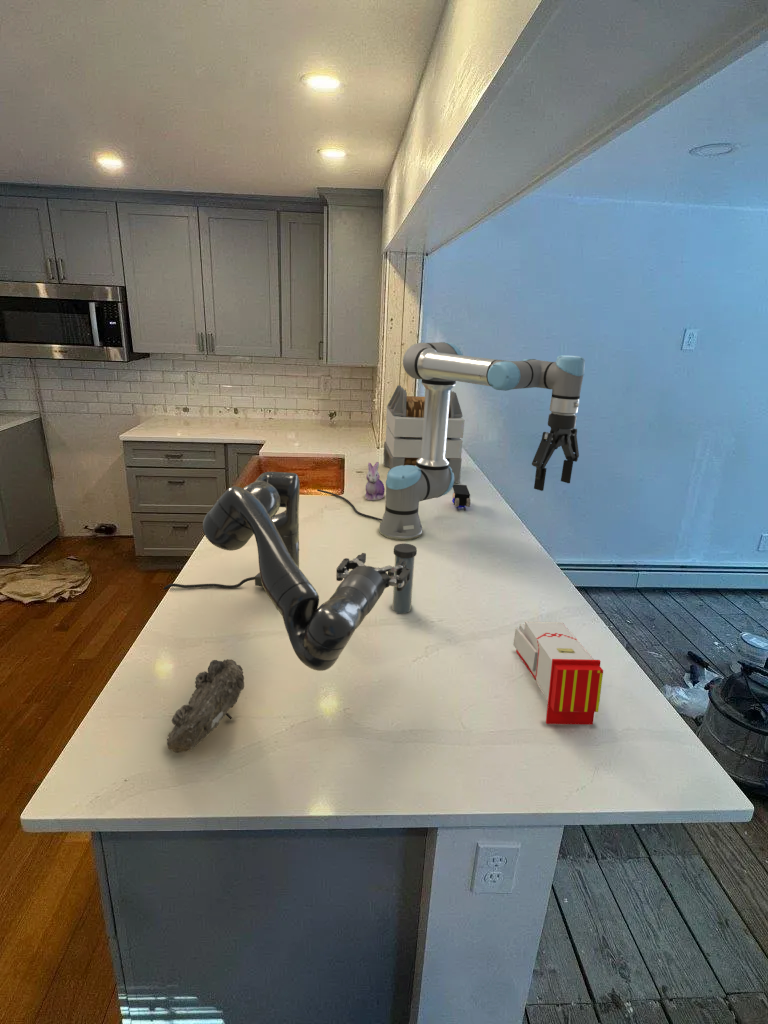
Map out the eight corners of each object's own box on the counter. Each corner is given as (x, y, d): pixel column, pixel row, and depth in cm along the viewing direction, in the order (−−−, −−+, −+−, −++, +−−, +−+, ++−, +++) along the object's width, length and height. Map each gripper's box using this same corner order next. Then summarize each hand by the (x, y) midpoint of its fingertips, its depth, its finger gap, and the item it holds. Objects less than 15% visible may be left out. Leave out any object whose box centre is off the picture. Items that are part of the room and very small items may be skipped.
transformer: (382, 463, 289) (386, 382, 275) (445, 464, 293) (451, 384, 279) (390, 482, 257) (394, 392, 243) (460, 483, 261) (468, 394, 247)
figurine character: (470, 515, 225) (465, 499, 238) (472, 498, 221) (467, 483, 235) (453, 515, 224) (449, 499, 238) (455, 497, 221) (451, 482, 234)
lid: (389, 550, 146) (389, 545, 146) (409, 547, 149) (410, 542, 148) (399, 559, 141) (400, 553, 141) (420, 556, 144) (420, 550, 143)
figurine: (369, 502, 230) (370, 466, 225) (359, 494, 239) (360, 460, 234) (390, 499, 234) (391, 464, 229) (378, 492, 243) (380, 458, 238)
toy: (559, 606, 135) (612, 666, 105) (553, 658, 137) (604, 731, 108) (508, 605, 134) (547, 665, 105) (504, 658, 137) (541, 730, 108)
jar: (389, 605, 151) (392, 547, 146) (405, 602, 153) (409, 544, 148) (397, 614, 147) (400, 554, 141) (414, 611, 149) (418, 551, 143)
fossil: (192, 660, 117) (244, 628, 112) (224, 691, 120) (276, 661, 115) (142, 746, 98) (202, 712, 93) (182, 779, 101) (242, 748, 96)
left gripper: (323, 604, 109) (351, 570, 124) (394, 617, 105) (415, 581, 120) (323, 569, 106) (352, 539, 121) (395, 581, 103) (416, 548, 117)
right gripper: (548, 419, 148) (537, 496, 155) (598, 411, 163) (586, 482, 171) (525, 414, 153) (515, 489, 160) (575, 407, 169) (564, 476, 176)
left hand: (383, 560), depth 121 cm, fingers open, 8 cm apart
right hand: (552, 485), depth 166 cm, fingers open, 13 cm apart
